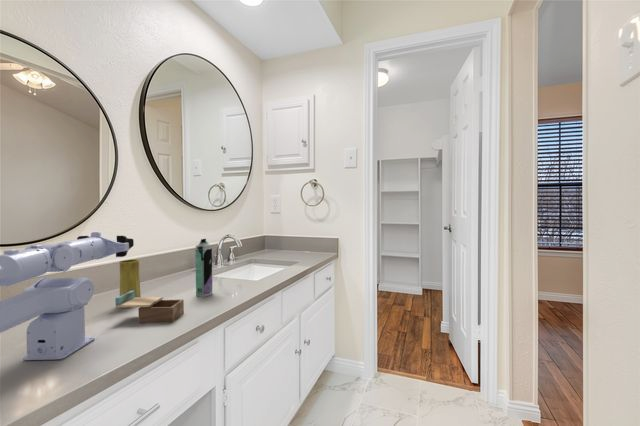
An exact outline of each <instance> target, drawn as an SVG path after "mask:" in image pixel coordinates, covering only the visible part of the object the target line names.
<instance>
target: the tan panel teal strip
mask: <svg viewBox="0 0 640 426" xmlns="http://www.w3.org/2000/svg"><path fill="white" fill-rule="evenodd" d="M160 300H164V297H163V296H141V297H135V291H130V292H127V293H125V294H123V295H121V296H120V295H119V296H117V297H115V308H116V309H117V308H118V309H119V308H121V309H126V307H129V308H140V307H151V306H152V305H154V304H155V303H157V302H159V301H160Z"/></svg>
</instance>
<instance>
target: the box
mask: <svg viewBox="0 0 640 426" xmlns="http://www.w3.org/2000/svg"><path fill="white" fill-rule="evenodd" d="M137 308H138V324H153V323H154V324H159V323H161V324H162V323H173V322H175V321H177V319H179V317H181V316H182V315H184V312H185V310H184V309H185V305H184V299H162V300H160V301H159V302H157V303H155V304H154V305H152V306H151V307H137Z"/></svg>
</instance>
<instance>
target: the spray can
mask: <svg viewBox="0 0 640 426" xmlns="http://www.w3.org/2000/svg"><path fill="white" fill-rule="evenodd" d="M194 249H195V250H194V251H195V254H194V255H195V256H194V257H195V296H196V297H199V298H200V297H203V298H204V297H210V296H212V295H213V247H212V244H210V243H209V242H208V240H207V238H202V239H201V238H200V241H199V243H198V244H196V245H195V248H194Z"/></svg>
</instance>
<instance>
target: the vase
mask: <svg viewBox="0 0 640 426" xmlns="http://www.w3.org/2000/svg"><path fill="white" fill-rule="evenodd" d="M130 291H135V297H142V295H141V279H140V260H139V259H138V258H136V259H132V258H131V259H122V260H119V296H121V295H123V294H125V293H127V292H130ZM126 308H127V309H129V308H130V307H126ZM126 308H125V309H126Z"/></svg>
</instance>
